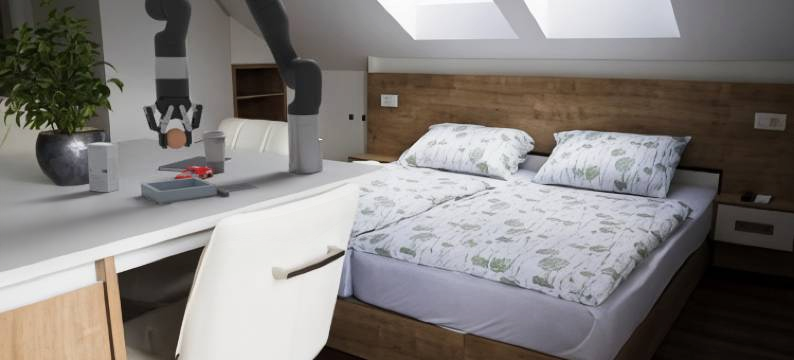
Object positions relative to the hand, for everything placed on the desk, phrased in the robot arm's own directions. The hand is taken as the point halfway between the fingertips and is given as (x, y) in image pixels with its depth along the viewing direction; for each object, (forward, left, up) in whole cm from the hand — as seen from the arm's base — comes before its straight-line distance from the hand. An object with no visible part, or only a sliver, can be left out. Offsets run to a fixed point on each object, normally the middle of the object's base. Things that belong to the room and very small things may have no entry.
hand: (175, 147), depth 154 cm
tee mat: (-16, 0, -12) cm, 20 cm away
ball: (0, 0, 0) cm, 0 cm away
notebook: (-21, -41, -13) cm, 48 cm away
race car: (-10, -17, -13) cm, 24 cm away
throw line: (-9, 0, -12) cm, 15 cm away
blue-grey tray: (0, 0, -12) cm, 12 cm away
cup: (-21, -26, -12) cm, 35 cm away
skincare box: (+12, -18, -12) cm, 25 cm away
